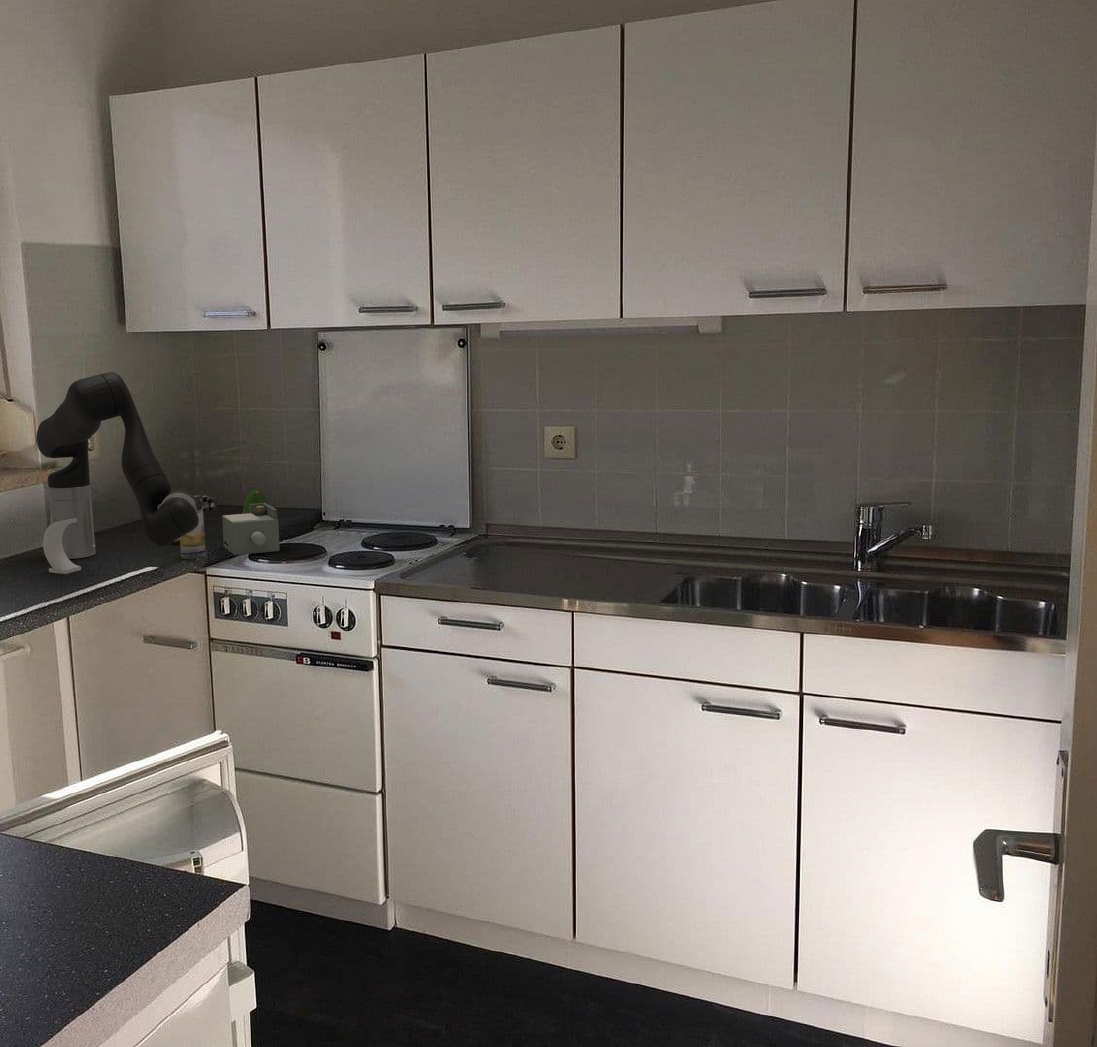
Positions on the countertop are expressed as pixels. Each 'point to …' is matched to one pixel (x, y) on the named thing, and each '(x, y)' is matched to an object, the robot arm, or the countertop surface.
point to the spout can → (194, 540)
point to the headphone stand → (58, 548)
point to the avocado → (254, 500)
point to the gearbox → (252, 530)
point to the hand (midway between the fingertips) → (185, 500)
